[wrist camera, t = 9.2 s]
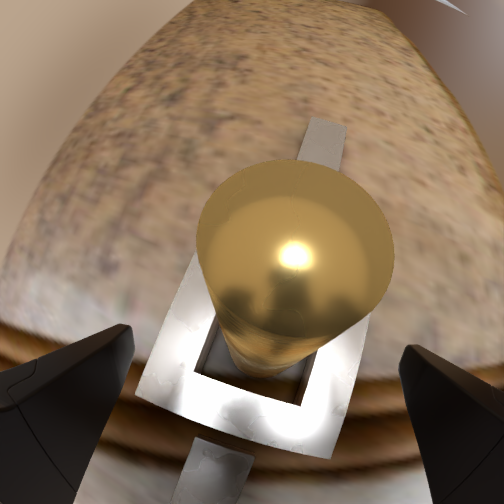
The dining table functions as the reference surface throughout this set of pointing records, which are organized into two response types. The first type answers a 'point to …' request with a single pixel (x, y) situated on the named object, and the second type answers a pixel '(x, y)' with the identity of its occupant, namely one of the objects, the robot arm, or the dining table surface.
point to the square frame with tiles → (240, 401)
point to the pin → (291, 260)
